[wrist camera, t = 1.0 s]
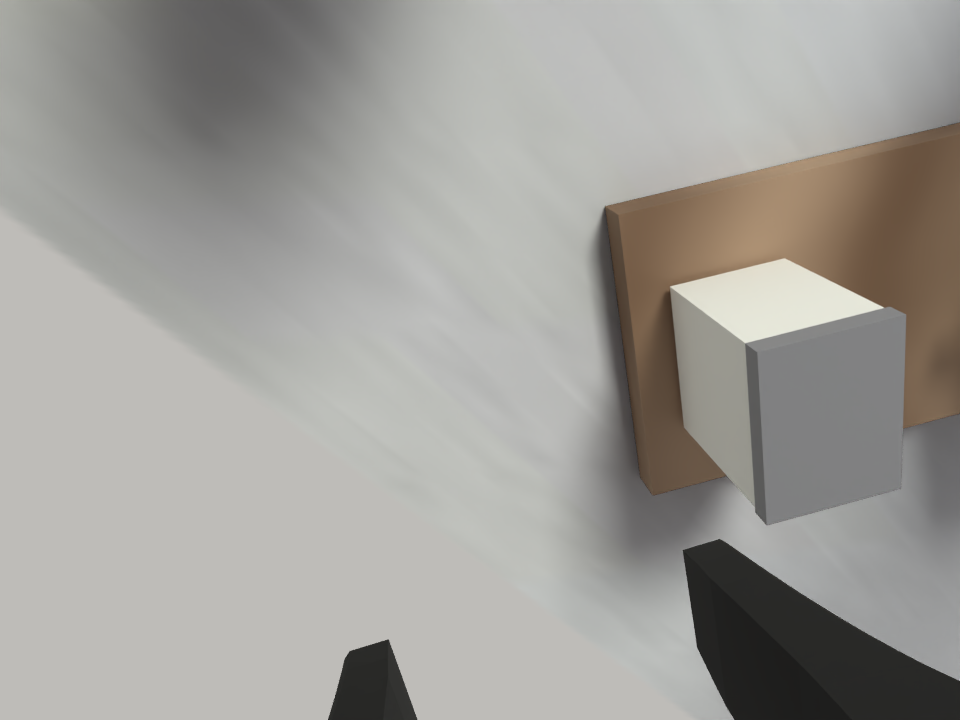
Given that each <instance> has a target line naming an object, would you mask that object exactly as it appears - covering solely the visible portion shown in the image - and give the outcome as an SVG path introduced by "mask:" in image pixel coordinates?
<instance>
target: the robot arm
mask: <svg viewBox="0 0 960 720" xmlns="http://www.w3.org/2000/svg"><path fill="white" fill-rule="evenodd" d="M683 555H684V561H685V568H686V575H687V581H688V588H689V595H690V602H691V608H692V615H693V622H694V628H695V635H696V642H697V648H698V650H699V652H700V654H701V656H702V658H703V660H704V663H705V665H706V667H707V669H708V671H709V673H710V675H711V677H712V679H713V681H714V683H715V685H716V687H717V689H718V691H719V693H720V695H721V697H722V699H723V701H724V703H725V705H726V707H727V708H728V710H729V712H730V713H731V715H732V716H733V718H734V720H960V681H958V680H956V679H954V678H952V677H950V676H948V675H946V674H943V673H941V672H939V671H937V670H935V669H933V668H931V667H929V666H926V665H924V664H922V663H920V662H918V661H916V660H914V659H913V658H911V657H909V656H907V655H905V654H903V653H901V652H899V651H897V650H896V649H894V648H892V647H890V646H888V645H887V644H885V643H883V642H881V641H879V640H877V639H876V638H874V637H872V636H870V635H868V634H867V633H865V632H863V631H861V630H860V629H858V628H856V627H855V626H853V625H851V624H850V623H848V622H846V621H844V620H843V619H841V618H840V617H838V616H836V615H835V614H833V613H831V612H830V611H828V610H827V609H825V608H823V607H822V606H820V605H819V604H817V603H815V602H814V601H812V600H810V599H809V598H807V597H806V596H804V595H803V594H801V593H799V592H798V591H796V590H795V589H793V588H792V587H790V586H789V585H787V584H786V583H784V582H783V581H781V580H780V579H778V578H777V577H775V576H774V575H772V574H771V573H769V572H768V571H766V570H765V569H763V568H762V567H761V566H759V565H758V564H756V563H755V562H753V561H752V560H750V559H749V558H748V557H746V556H745V555H743V554H742V553H740V552H739V551H737V550H736V549H735V548H733V547H732V546H730V545H729V544H727V543H726V542H724V541H722V540H720V539H718V540H715V541H712V542H708V543H705V544H702V545H698V546H695V547H692V548H689V549H685V550H683ZM328 720H417V717H416V714H415V712H414V709H413V706H412V704H411V701H410V698H409V695H408V692H407V689H406V687H405V684H404V681H403V678H402V675H401V673H400V670H399V667H398V664H397V662H396V659H395V656H394V653H393V650H392V648H391V645H390V642H389V640H385V641H382V642H378V643H375V644H372V645H368V646H365V647H362V648H359V649H355V650H352V651H350V652H349V653H348V655H347V656H346V658H345V660H344V664H343V668H342V673H341V677H340V680H339V684H338V688H337V692H336V695H335V699H334V702H333V705H332V709H331V712H330V715H329V718H328Z"/></svg>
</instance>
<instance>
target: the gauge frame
mask: <svg viewBox="0 0 960 720" xmlns="http://www.w3.org/2000/svg"><path fill="white" fill-rule="evenodd" d="M605 209H606V217H607V225H608V233H609V240H610V248H611V256H612V263H613V271H614V279H615V287H616V294H617V302H618V310H619V317H620V325H621V333H622V341H623V348H624V356H625V364H626V371H627V379H628V387H629V395H630V402H631V410H632V418H633V425H634V433H635V441H636V449H637V456H638V464H639V472H640V478H641V479H642V481H643V482H644V483H645V485H646V486H647V488H648V489H649V491H650V492H651V494H652V495H657V494H661V493H665V492H668V491H672V490H676V489H680V488H683V487H687V486H691V485H695V484H698V483H702V482H706V481H710V480H713V479H717V478H721V477H724V476H727V475H726V474H725V473H724V472H723V471H722V470H721V469H720V467H719V466H718V465H717V464H716V463H715V462H714V461H713V460H712V458H711V457H710V456H709V455H708V454H707V453H706V452H705V451H704V449H703V448H702V447H701V446H700V445H699V444H698V443H697V442H696V441H695V439H694V438H693V437H692V436H691V435H690V434H689V433H688V432H687V430H686V429H685V428H684V423H683V413H682V403H681V393H680V383H679V373H678V363H677V353H676V343H675V333H674V323H673V313H672V303H671V293H670V286H674V285H678V284H682V283H686V282H690V281H694V280H698V279H703V278H707V277H711V276H715V275H719V274H723V273H727V272H731V271H735V270H739V269H743V268H747V267H751V266H755V265H759V264H763V263H768V262H772V261H776V260H780V259H784V258H785V259H787V260H789V261H791V262H793V263H795V264H797V265H799V266H801V267H803V268H805V269H807V270H809V271H811V272H813V273H815V274H817V275H819V276H821V277H823V278H825V279H827V280H829V281H831V282H833V283H836V284H838V285H840V286H842V287H844V288H846V289H848V290H850V291H852V292H854V293H856V294H858V295H860V296H862V297H864V298H866V299H868V300H870V301H872V302H874V303H876V304H878V305H880V306H882V307H884V308H886V307H892V308H894V309H896V310H898V311H900V312H902V313H904V314H906V339H905V374H904V409H903V429H904V428H907V427H911V426H915V425H919V424H922V423H926V422H930V421H934V420H937V419H941V418H945V417H949V416H952V415H956V414H960V123H956V124H952V125H948V126H944V127H939V128H935V129H931V130H927V131H923V132H918V133H914V134H910V135H906V136H901V137H897V138H893V139H889V140H884V141H880V142H876V143H872V144H867V145H863V146H859V147H855V148H850V149H846V150H842V151H838V152H833V153H829V154H825V155H821V156H817V157H812V158H808V159H804V160H800V161H795V162H791V163H787V164H783V165H778V166H774V167H770V168H766V169H761V170H757V171H753V172H749V173H744V174H740V175H736V176H732V177H727V178H723V179H719V180H715V181H711V182H706V183H702V184H698V185H694V186H689V187H685V188H681V189H677V190H672V191H668V192H664V193H660V194H655V195H651V196H647V197H643V198H638V199H634V200H630V201H626V202H622V203H617V204H613V205H609V206H605Z"/></svg>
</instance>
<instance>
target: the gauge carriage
mask: <svg viewBox="0 0 960 720" xmlns="http://www.w3.org/2000/svg"><path fill="white" fill-rule="evenodd" d="M670 293H671V303H672V313H673V323H674V333H675V343H676V353H677V363H678V373H679V383H680V393H681V403H682V413H683V423H684V428H685V429H686V430H687V432H688V433H689V434H690V435H691V436H692V437H693V438H694V439H695V441H696V442H697V443H698V444H699V445H700V446H701V447H702V448H703V449H704V451H705V452H706V453H707V454H708V455H709V456H710V457H711V458H712V460H713V461H714V462H715V463H716V464H717V465H718V466H719V467H720V469H721V470H722V471H723V472H724V473H725V474H726V475H727V476H728V478H729V479H730V480H731V481H732V482H733V483H734V484H735V485H736V487H737V488H738V489H739V490H740V491H741V492H742V493H743V494H744V496H745V497H746V498H747V499H748V500H749V501H750V502H751V503H752V504H753V506H754V507H755V513H756V514H757V515H758V516H759V517H760V518H761V519H762V521H763V522H764V523H765V524H766V525H770V524H774V523H777V522H781V521H785V520H788V519H792V518H796V517H799V516H803V515H807V514H810V513H814V512H818V511H821V510H825V509H829V508H832V507H836V506H839V505H843V504H847V503H850V502H854V501H858V500H861V499H865V498H869V497H872V496H876V495H880V494H883V493H887V492H891V491H894V490H898V489H901V479H902V444H903V409H904V374H905V339H906V314H904V313H902V312H900V311H898V310H896V309H894V308H892V307H886V308H884V307H882V306H880V305H878V304H876V303H874V302H872V301H870V300H868V299H866V298H864V297H862V296H860V295H858V294H856V293H854V292H852V291H850V290H848V289H846V288H844V287H842V286H840V285H838V284H836V283H833V282H831V281H829V280H827V279H825V278H823V277H821V276H819V275H817V274H815V273H813V272H811V271H809V270H807V269H805V268H803V267H801V266H799V265H797V264H795V263H793V262H791V261H789V260H787V259H785V258H784V259H780V260H776V261H772V262H768V263H763V264H759V265H755V266H751V267H747V268H743V269H739V270H735V271H731V272H727V273H723V274H719V275H715V276H711V277H707V278H703V279H698V280H694V281H690V282H686V283H682V284H678V285H674V286H670Z"/></svg>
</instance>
